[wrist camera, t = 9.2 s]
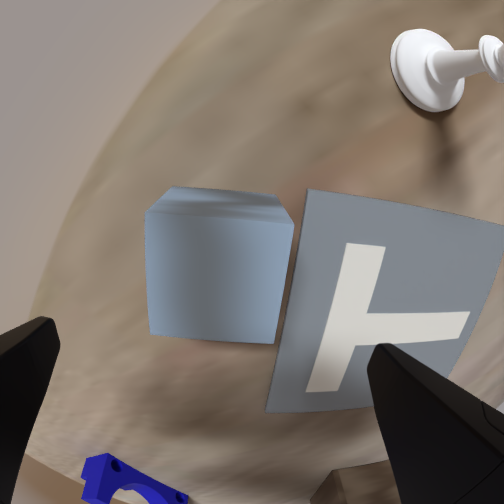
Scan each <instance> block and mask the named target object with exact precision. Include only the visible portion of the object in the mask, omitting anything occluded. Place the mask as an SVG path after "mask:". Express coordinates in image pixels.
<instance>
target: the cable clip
mask: <svg viewBox="0 0 504 504" xmlns="http://www.w3.org/2000/svg"><path fill="white" fill-rule="evenodd" d="M81 478H82V479H84V480H86V483H85V487H84V491H83V494H82V498H81V499H83V500H84V501H86V502H88V503H90V504H109V503H110V500H111V498H112V496H113V494H114V493H115V492H116V491H117V490H118V489H119V488H121V489H123V490H135V491H136V492H138V493H139V494H141V495H142V496H143V497H144V498H145V499H146V500H147V501H148V502H149V504H188V495H186V494H184V493H181V492H179V491H177V490H175V489H173V488H171V487H168V486H166V485H164V484H162V483H160V482H158V481H156V480H154V479H152V478H151V477H149V476H147V475H145V474H143V473H141V472H139V471H138V470H136V469H134V468H132V467H130V466H129V465H127V464H125V463H124V462H122V461H120V460H119V459H117V458H115V457H114V456H112V455H111V454H109V453H106V454H102V455H98V456H94V457H89V458H86V462H85V465H84V468H83V471H82V475H81Z"/></svg>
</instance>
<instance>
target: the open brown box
mask: <svg viewBox="0 0 504 504" xmlns="http://www.w3.org/2000/svg"><path fill="white" fill-rule="evenodd" d="M310 504H401V501H400V497H399V493H398V490H397V486H396V482H395V478H394V475H393V471H392V468H391V464H390V461H389V460H387V461H382V462H378V463H373V464H368V465H363V466H357V467H351V468H345V469H338V470H332V471H331V473H330V474H329V476H328V477H327V478H326V480H325V481H324V482H323V484H322V485H321V486H320V488H319V489H318V490H317V492H316V493H315V494H314V496H313V497H312V498H311V499H310Z"/></svg>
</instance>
